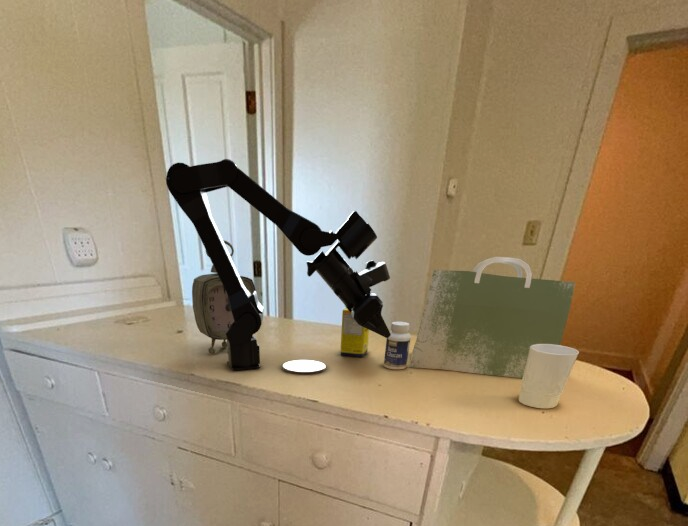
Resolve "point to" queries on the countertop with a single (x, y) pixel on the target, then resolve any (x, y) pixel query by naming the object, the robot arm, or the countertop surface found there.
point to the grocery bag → (489, 319)
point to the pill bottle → (397, 346)
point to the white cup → (546, 374)
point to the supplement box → (353, 336)
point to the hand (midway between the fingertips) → (385, 332)
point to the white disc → (304, 367)
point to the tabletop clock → (214, 305)
